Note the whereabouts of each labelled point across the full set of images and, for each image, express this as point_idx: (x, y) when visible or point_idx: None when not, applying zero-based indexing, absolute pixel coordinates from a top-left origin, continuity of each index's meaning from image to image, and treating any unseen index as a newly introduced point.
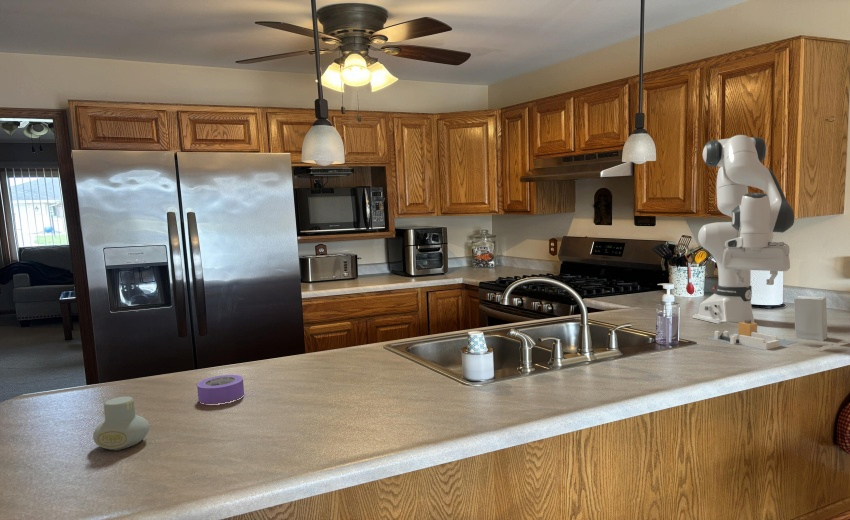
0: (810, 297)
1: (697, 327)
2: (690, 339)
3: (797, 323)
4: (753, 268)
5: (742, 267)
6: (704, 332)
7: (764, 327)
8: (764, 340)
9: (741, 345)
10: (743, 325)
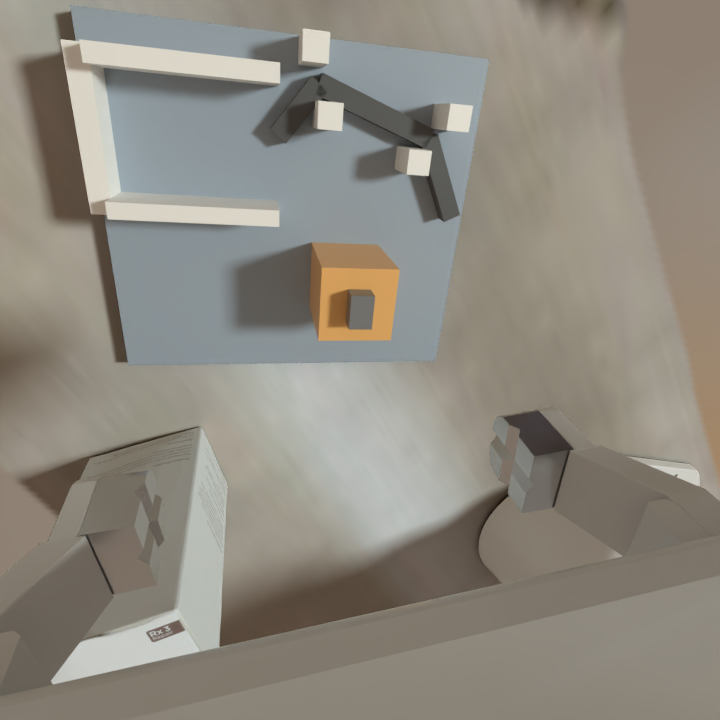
0: (97, 671)
1: (627, 338)
2: (570, 44)
3: (179, 485)
4: (375, 642)
5: (637, 594)
6: (568, 271)
7: (418, 523)
8: (85, 57)
9: (245, 38)
10: (363, 265)
